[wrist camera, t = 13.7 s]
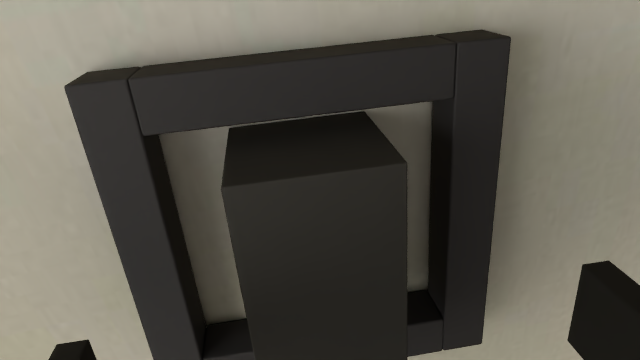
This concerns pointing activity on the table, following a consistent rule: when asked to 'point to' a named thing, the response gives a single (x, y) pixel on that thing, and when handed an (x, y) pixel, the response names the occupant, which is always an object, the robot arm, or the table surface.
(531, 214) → the table surface
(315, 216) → the black box
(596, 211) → the table surface
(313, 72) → the frame pad
